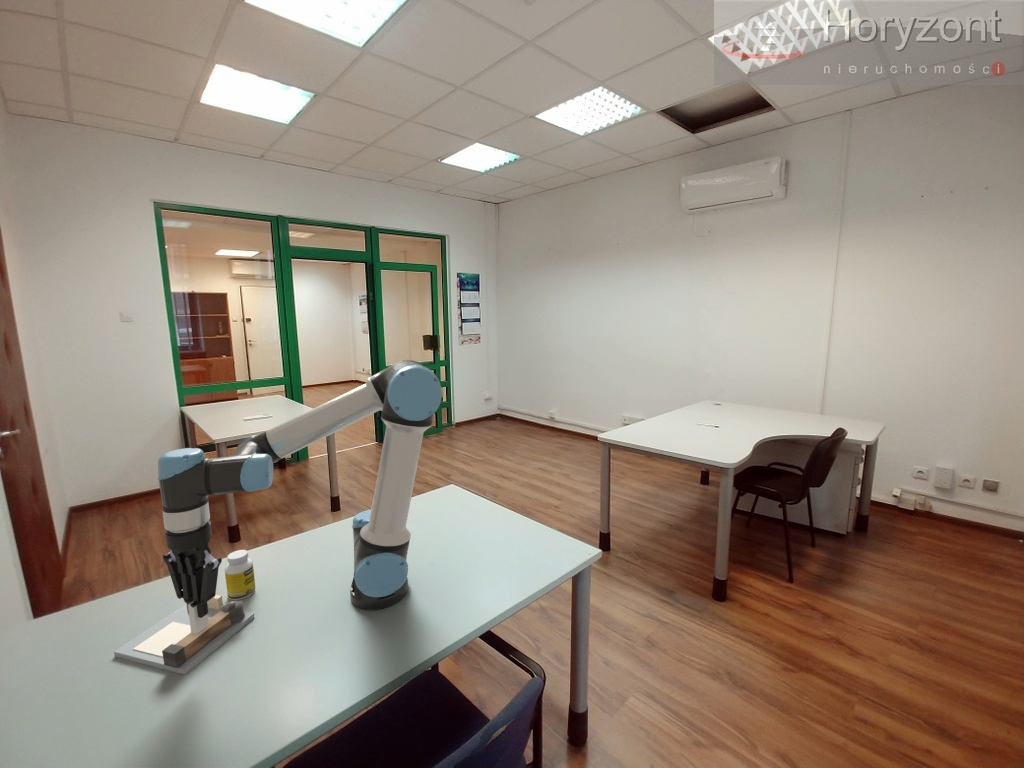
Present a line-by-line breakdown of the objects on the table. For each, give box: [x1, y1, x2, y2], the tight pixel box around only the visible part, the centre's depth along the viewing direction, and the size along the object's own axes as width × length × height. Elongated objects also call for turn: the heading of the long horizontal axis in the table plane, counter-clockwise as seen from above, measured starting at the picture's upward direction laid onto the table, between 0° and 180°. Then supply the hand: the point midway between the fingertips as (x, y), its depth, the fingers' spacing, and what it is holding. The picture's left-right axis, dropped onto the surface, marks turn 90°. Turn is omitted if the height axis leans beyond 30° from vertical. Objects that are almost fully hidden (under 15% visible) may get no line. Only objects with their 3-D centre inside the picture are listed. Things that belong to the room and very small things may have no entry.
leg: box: [162, 600, 245, 668], centre depth 101 cm, size 18×4×4 cm, turn 165°
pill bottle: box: [224, 549, 256, 601], centre depth 118 cm, size 6×6×12 cm
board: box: [113, 594, 255, 675], centre depth 103 cm, size 20×18×4 cm
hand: (199, 628), depth 93 cm, fingers closed
